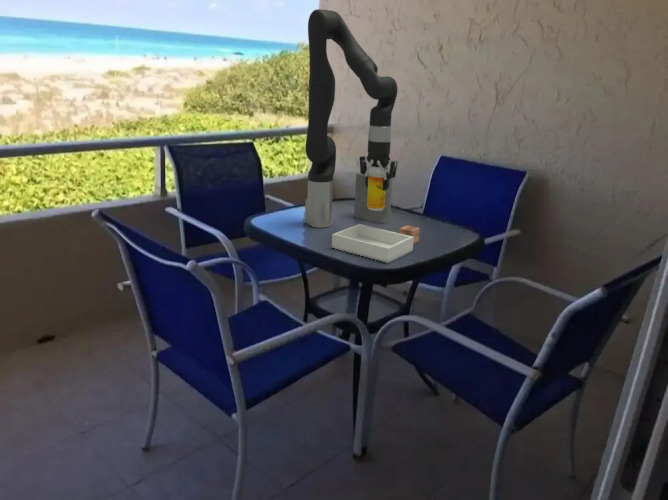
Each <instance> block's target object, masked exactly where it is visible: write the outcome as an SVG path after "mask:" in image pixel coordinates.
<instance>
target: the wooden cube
mask: <svg viewBox="0 0 668 500" xmlns="http://www.w3.org/2000/svg"><path fill="white" fill-rule="evenodd" d="M399 233H400V234H404V235H408V236H412V237H414V241H413V245H415V244H417V243H419V241H420V227H416V226H412V225H405V226H402V227H400V228H399Z"/></svg>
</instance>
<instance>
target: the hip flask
mask: <svg viewBox="0 0 668 500" xmlns="http://www.w3.org/2000/svg"><path fill="white" fill-rule="evenodd" d="M392 187H393V178H392V179H390V180H389V189H388V190H386V193H385V207H384V208H383V210H380V211H373V210H369V209H368V207H367V197H368V187H366V185H365V175H364V174H361V173H360V172H356V173H355V191H354V193H355V195H354V213H353V214H354V215H353V216H355V217H354V218H357V219H361V220H365V221H368V222H369V221H370V222H372V223H378V224H383V225H385V224H386V225H387V224H388V225H389V224H390V223H391V222H390V220H391V205H392V204H391V203H392V191H393V190H392V189H393V188H392Z"/></svg>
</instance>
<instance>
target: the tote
mask: <svg viewBox="0 0 668 500" xmlns="http://www.w3.org/2000/svg"><path fill="white" fill-rule="evenodd" d="M413 241H414V237H412V236H408V235H404V234H400V232H395V231H391V230H387V229H382V228H378V227H374V226H370V225H365V224H362V223H358V224H355V225H353V226H349V227H348V228H345V229H343V230H339V231H337V232H335V233H332V234H331V249H332V248H335V249H334V250H336V249H339V250H343V251H346V252H349V253H348V254H350V253H353V254H352V255H354V254H357V255H360V256H359V257H361V256H364V257H363V258H365V257H368V258H371V259H370V260H372V259H375V260H374V261H376V260H379V261H383V262H386V263H385V264H387V263H388V264H390V263H392V262H394V261H396V260H399V259H400V258H403V257H404V256H406V255H408V254H410V253H412V252H413V250H414V244H413ZM339 250H338V251H339ZM343 251H342V252H343ZM346 252H345V253H346ZM357 255H356V256H357ZM368 258H367V259H368ZM379 261H378V262H379ZM391 261H392V262H391ZM383 262H382V263H383ZM389 262H390V263H389Z"/></svg>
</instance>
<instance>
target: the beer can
mask: <svg viewBox="0 0 668 500" xmlns="http://www.w3.org/2000/svg"><path fill="white" fill-rule="evenodd" d="M380 168H381V167H375V166H373V167H372V166H370V168H369V176H368V197H367V207H368V209H369V210H373V211H380V210H383V208H384V207H385V193H386V191H383V180H384V178H383V174H382V173H381V169H380ZM384 170H387V169H386V168H384Z"/></svg>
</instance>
